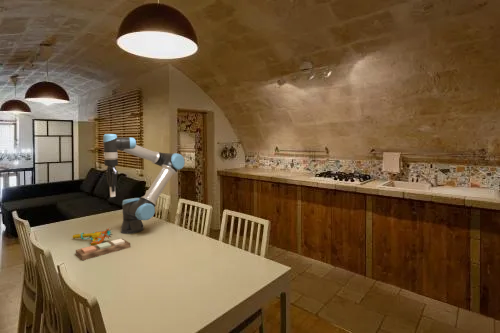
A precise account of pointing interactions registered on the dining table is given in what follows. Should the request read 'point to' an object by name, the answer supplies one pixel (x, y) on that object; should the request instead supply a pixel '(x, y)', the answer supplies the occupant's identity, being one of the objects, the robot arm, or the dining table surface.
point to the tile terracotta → (88, 249)
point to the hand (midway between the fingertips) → (112, 196)
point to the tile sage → (103, 245)
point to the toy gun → (95, 236)
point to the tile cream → (117, 242)
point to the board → (102, 250)
